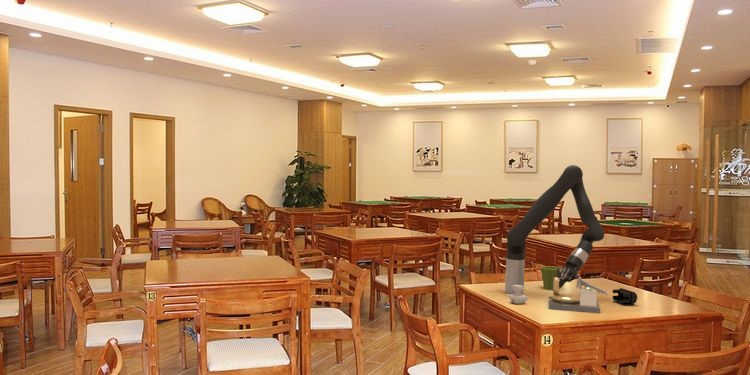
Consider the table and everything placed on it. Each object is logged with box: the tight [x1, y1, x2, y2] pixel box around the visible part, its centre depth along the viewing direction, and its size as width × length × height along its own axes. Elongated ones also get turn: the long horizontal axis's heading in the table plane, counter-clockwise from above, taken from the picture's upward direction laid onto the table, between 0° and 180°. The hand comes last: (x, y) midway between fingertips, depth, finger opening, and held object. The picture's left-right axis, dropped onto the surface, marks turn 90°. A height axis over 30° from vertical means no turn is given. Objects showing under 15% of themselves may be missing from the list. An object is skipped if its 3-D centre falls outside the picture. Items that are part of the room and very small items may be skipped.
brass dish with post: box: [551, 277, 580, 303], centre depth 299 cm, size 13×13×10 cm
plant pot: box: [539, 265, 563, 291], centre depth 340 cm, size 12×12×11 cm
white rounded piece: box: [508, 285, 529, 305], centre depth 300 cm, size 9×7×8 cm
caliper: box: [576, 276, 609, 295], centre depth 337 cm, size 20×1×6 cm, turn 31°
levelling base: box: [548, 286, 601, 314], centre depth 295 cm, size 22×20×10 cm
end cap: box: [612, 287, 638, 307], centre depth 305 cm, size 10×7×7 cm
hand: (558, 286), depth 305 cm, fingers closed
